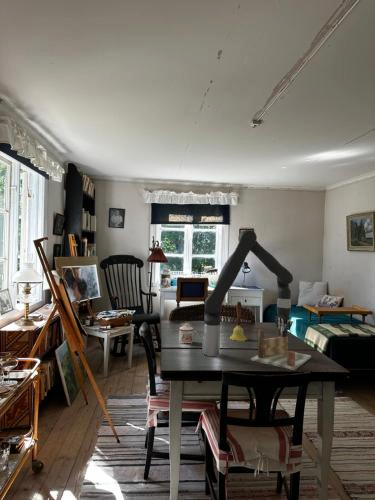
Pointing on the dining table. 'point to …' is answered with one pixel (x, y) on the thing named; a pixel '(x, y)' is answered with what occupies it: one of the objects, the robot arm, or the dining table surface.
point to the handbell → (238, 326)
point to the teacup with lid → (186, 334)
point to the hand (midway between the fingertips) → (282, 336)
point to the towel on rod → (279, 356)
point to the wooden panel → (276, 345)
